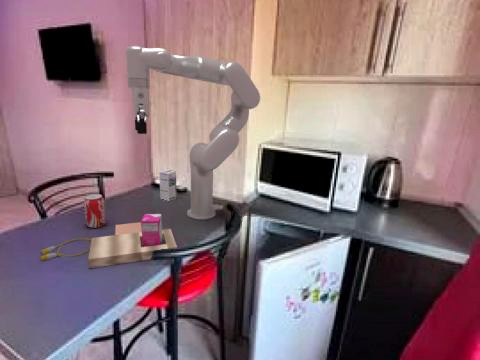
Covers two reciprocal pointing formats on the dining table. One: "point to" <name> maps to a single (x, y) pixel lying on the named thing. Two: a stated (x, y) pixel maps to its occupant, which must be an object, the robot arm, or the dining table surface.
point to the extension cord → (53, 255)
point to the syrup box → (168, 185)
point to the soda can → (94, 210)
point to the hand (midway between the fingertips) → (140, 131)
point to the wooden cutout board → (125, 248)
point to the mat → (128, 228)
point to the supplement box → (151, 230)
